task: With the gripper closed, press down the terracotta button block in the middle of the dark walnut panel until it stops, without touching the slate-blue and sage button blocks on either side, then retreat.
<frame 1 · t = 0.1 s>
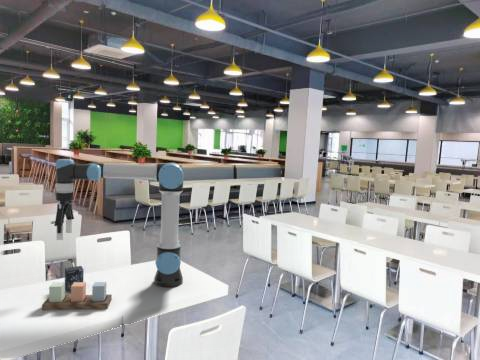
hand: (64, 236, 178), 28 cm above the table, fingers open, 13 cm apart
box: (73, 289, 186), on the table
panel: (78, 304, 168), on the table
slate button: (99, 291, 169), point 6 cm above the table, slide at 0.0 cm
terracotta button: (78, 291, 168), point 6 cm above the table, slide at 0.0 cm
sage button: (57, 292, 166), point 6 cm above the table, slide at 0.0 cm
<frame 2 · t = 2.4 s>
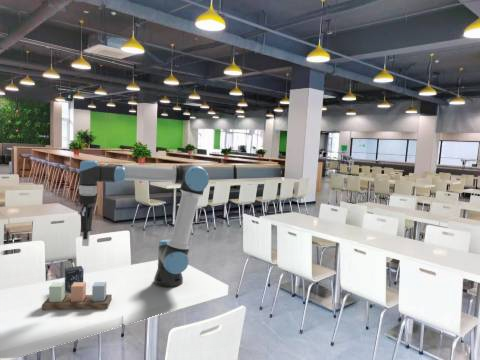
hand: (85, 245, 171), 26 cm above the table, fingers closed
nothing on the table moved.
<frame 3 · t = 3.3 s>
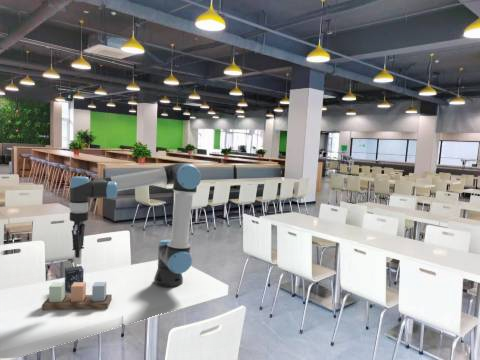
hand: (77, 263, 167), 19 cm above the table, fingers closed
nothing on the table moved.
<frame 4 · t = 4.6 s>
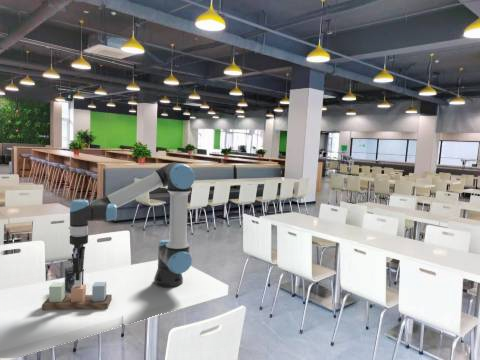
hand: (78, 286, 168), 9 cm above the table, fingers closed
terracotta button: (78, 294, 168), point 5 cm above the table, slide at 1.2 cm, touching gripper
everything else where it was.
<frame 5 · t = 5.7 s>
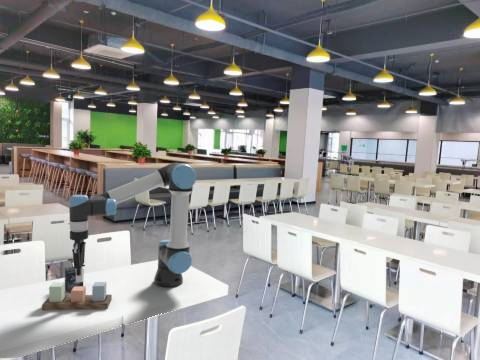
hand: (79, 281, 168), 11 cm above the table, fingers closed
terracotta button: (78, 296, 168), point 4 cm above the table, slide at 2.0 cm
everything else where it was.
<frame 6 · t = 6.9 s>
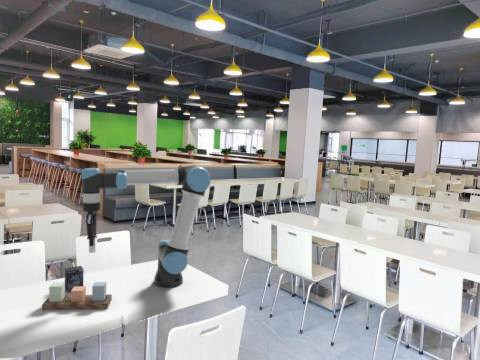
hand: (92, 252, 174), 22 cm above the table, fingers closed
nothing on the table moved.
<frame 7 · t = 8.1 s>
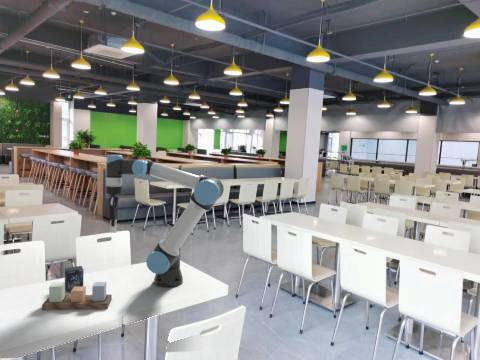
hand: (113, 232, 188), 28 cm above the table, fingers closed
nothing on the table moved.
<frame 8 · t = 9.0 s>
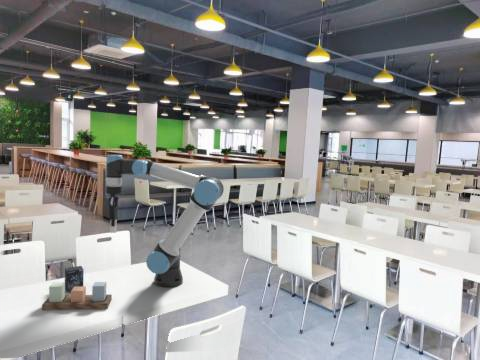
hand: (113, 232, 188), 28 cm above the table, fingers closed
nothing on the table moved.
at the end: terracotta button slide at 2.0 cm; slate button slide at 0.0 cm; sage button slide at 0.0 cm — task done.
